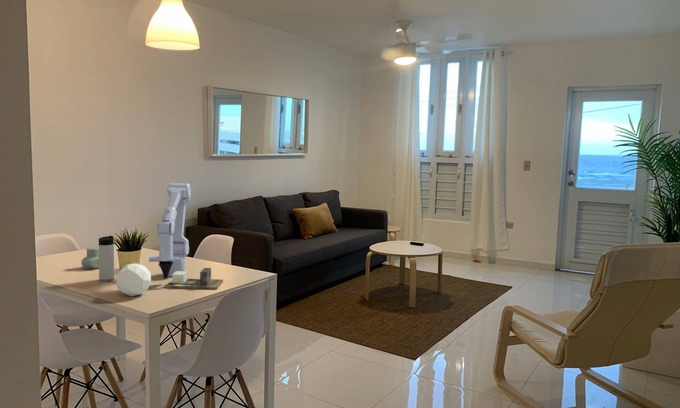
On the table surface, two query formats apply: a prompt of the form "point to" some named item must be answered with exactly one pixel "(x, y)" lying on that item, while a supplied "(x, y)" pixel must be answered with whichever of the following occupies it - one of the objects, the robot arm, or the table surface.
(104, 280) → the travel mug
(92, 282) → the table surface
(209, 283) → the base
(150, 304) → the table surface
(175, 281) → the block
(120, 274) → the geodesic sphere
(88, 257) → the air freshener
